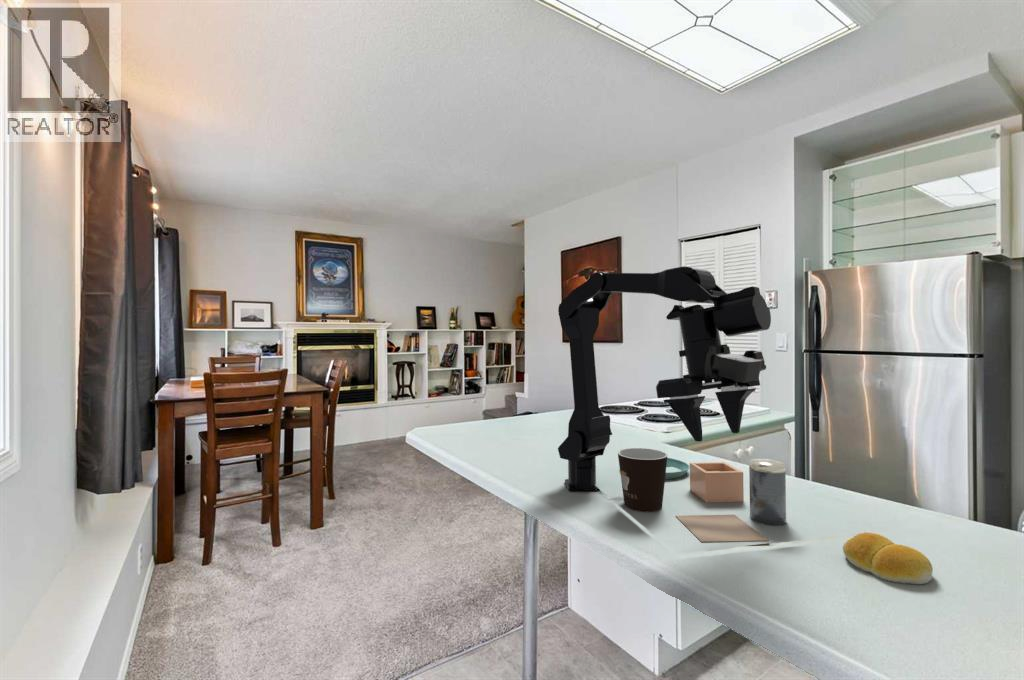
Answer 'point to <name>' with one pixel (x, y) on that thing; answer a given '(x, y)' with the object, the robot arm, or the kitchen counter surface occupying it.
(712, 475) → the planter
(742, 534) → the coaster
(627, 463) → the brown coffee cup
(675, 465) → the saucer
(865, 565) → the bread roll
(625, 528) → the kitchen counter surface
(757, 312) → the robot arm
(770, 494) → the tea tin
